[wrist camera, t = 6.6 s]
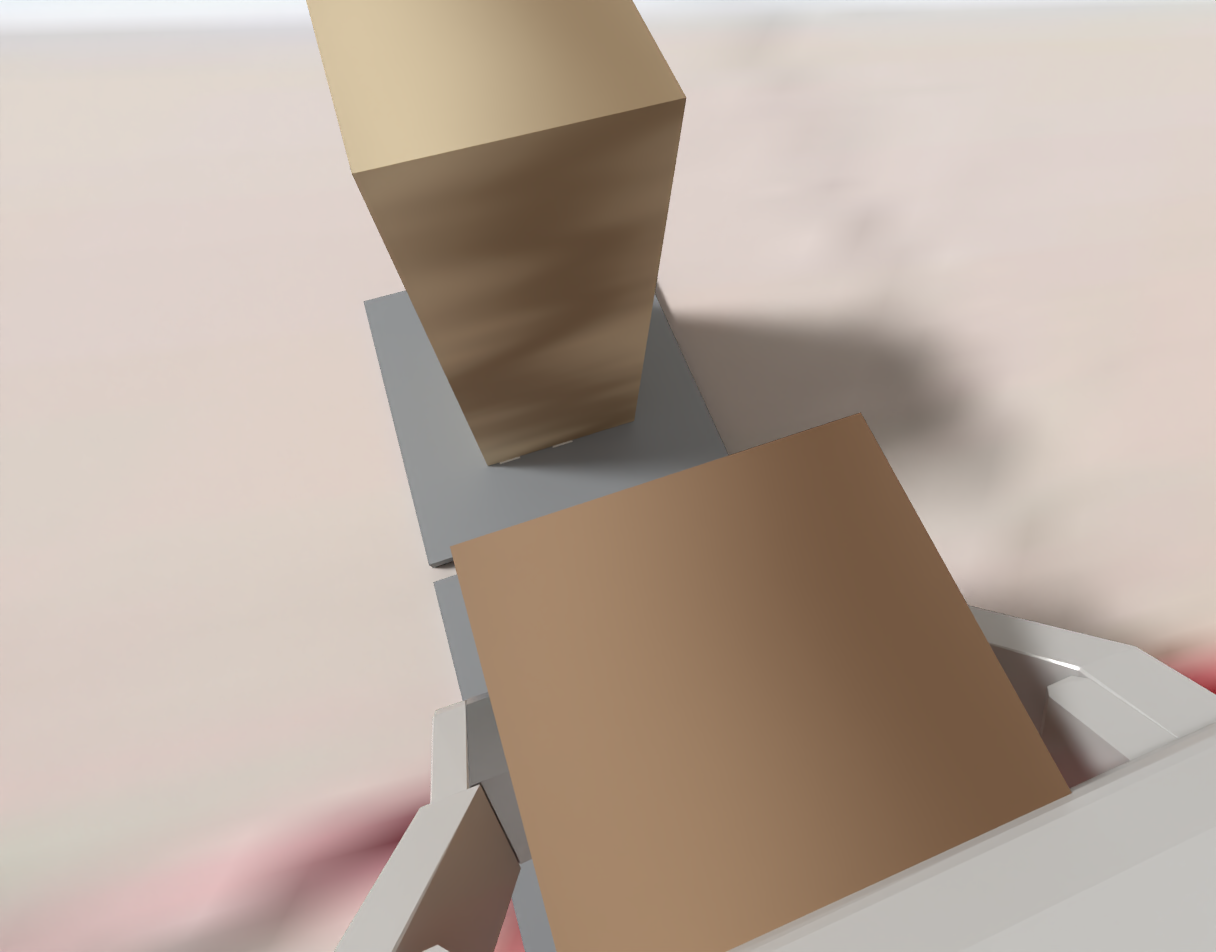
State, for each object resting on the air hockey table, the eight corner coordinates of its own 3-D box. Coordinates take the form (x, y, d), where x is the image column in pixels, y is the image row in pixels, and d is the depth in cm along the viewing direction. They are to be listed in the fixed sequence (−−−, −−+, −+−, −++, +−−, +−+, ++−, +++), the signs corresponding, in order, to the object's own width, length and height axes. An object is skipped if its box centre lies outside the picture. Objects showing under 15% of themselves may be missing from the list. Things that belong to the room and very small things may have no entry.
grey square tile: (532, 966, 13) (530, 974, 12) (437, 584, 16) (433, 581, 15) (884, 811, 14) (892, 814, 14) (736, 484, 17) (739, 479, 17)
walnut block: (595, 822, 13) (603, 1130, 4) (538, 636, 15) (449, 546, 6) (768, 751, 14) (1119, 877, 5) (697, 578, 16) (861, 412, 6)
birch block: (487, 465, 16) (351, 173, 7) (449, 339, 18) (294, -44, 9) (634, 421, 17) (686, 97, 8) (586, 301, 19) (581, -93, 9)
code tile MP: (432, 567, 16) (428, 564, 15) (368, 309, 19) (363, 301, 18) (729, 469, 17) (733, 464, 17) (626, 241, 20) (627, 232, 20)
